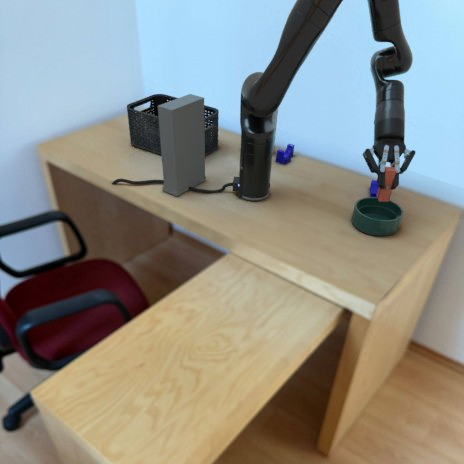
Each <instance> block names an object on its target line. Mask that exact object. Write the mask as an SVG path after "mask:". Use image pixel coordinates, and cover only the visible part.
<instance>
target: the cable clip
mask: <svg viewBox="0 0 464 464" xmlns="http://www.w3.org/2000/svg"><path fill="white" fill-rule="evenodd" d="M377 183H378V177H377V179H371V182H370V186H369V197H377V196H376V195H377V192H378V188H379V187H378V185H377ZM392 191H393V190H391V193H390V197H389V199H390V198H391V194H392Z"/></svg>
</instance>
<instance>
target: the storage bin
mask: <svg viewBox="0 0 464 464" xmlns="http://www.w3.org/2000/svg"><path fill="white" fill-rule="evenodd" d="M178 98H179V97H176V96H172V95H168V94H165V93H154V94H151V95H149V96H146V97H144V98H141V99H138V100H136V101H133V102H130V103H128V104H126V112H127V120H128V129H129V137H130V138H129V139H130V140H129V141H130V144H131V145H132V146H133V147H136V148H140V149H143V150H145V151H148V152H151V153H155V154H157V155H160V156H162V155H161V142H160V130H159V118H158V106H159V105H161V104H164V103H167V102H169V101H172V100H175V99H178ZM148 103H149V104H150V105H149V107H146V108H144V109H142V110H137V109H135V108H137V107H140V106H143V105H146V104H148ZM219 113H220V111H219V109H218V108H216V107H212V106H209V105H207V104H206V105H205V104H204V125H205V157H206V156H208V155H209V154H211V153H212V152H214V151H216V150H218V149H219V119H220V118H219Z"/></svg>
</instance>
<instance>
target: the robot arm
mask: <svg viewBox="0 0 464 464" xmlns="http://www.w3.org/2000/svg"><path fill="white" fill-rule="evenodd" d="M343 2H344V0H296V1H295V2H294V4H293V6H292V8H291V10H290V12H289V13H288V16H287V18H286V20H285V23H284V25H283V29H282V31H281V36H280V38H279V42H278V45H277V48H276V50H275V52H274V54H273V57H272V58H271V60H270V62H269V63H268V64H267V66H266V68H265V70H264V71H263V72H262V71H256V72H253V73H251V74H249V75H248V76H247V77H246V78H245V80H244V81H243V82H242V86H241V89H240V107H239V109H240V110H239V124H240V131H241V132H240V154H239V155H240V156H239V157H240V158H239V169H238V170H239V174H238V176H233V179H232V182H227V183H225V184H223V185H222V187H221V188H219V189H214V190H213V189H204V188H197V187H189V190H188V191H193V192H196V193H202V194H219V193H222V192H224V191H225V190H226V188H228V187H232V192H236V193H237V194H238V199H243V200H246V201H250V202H259V201H264V200H266V199H267V198H268V197H270V196H269V195H270V189H271V173H272V164H273V163H272V162H273V154H274V152H273V143H274V132H275V130H274V125H273V113H274V112H275V111H276V110H277V109H278V110H279V108H280V105H282V102H283V100H284V98H285V96H286V94H287V92H288V90H289V89H290V87H291V85H292V82H293V81H294V79H295V78H296V75H297V73H298V72H299V70H300V69H301V67H302V66H303V64H304V63H305V61H306V60H307V58H308V56H309V55H310V54H311V52H312V50H313V49H314V47H315V46H316V44H317V43H318V41H319V40H320V38H321V37H322V36H323V34H324V33H325V31H326V30H327V28H328V26H329V24H330V23H331V21H332V20H333V18H334V17H335V15H336V13H337V12H338V10H339V8H340V7H341V5H342V4H343ZM366 3H367V10H368V18H369V25H370V30H371V31H370V32H371V36H372V39H373V41H374V42H377V43H390V44H392V46H387V47H385V48H381V49H378V50H375V51H374V52H373V53H372V54H371V56H370V58H369V63H368V64H369V65H368V66H369V70H370V73H371V76H372V79H373V84H374V88H375V111H374V120H373V126H374V127H373V145H372V147H371V148H365V150H364V151H363V153H362V157H363V159H364V161H365V163H366V165H367V167H368V169H369V171H370V173H371V174H376V175H377V178H378V183H377V185H378V187H380V189H383V188H385V173H384V171H385V167H387V166H386V165H387V163H389V167H394V168H395V169H396V174H395V177H394V181H393V184H392V187H391V190H392V191H393V190H396V189H397V187H399V185H400V175H402V174H404V172H406V171H407V170H408V168H409V166H410V165H411V162H412V160H413V159H414V157H415V155H416V150H414V149H412V150H410V149H408V148H407V145H406V144H405V133H406V132H405V131H406V129H405V128H406V125H405V124H406V110H405V85H404V83H403V81H401V80H398V79H388V78H392V77H396V76H401V75H404V74H406V73H408V72H409V71H410V69H411V68H412V65H413V59H414V58H413V52H412V50H411V47H410V44H409V43H408V41H407V38H406V35H405V33H404V29H403V25H402V19H401V9H400V0H366ZM374 155H375V157H376V158H377V161H378V162H376V159H375V157H374ZM402 155H403V158H404V160H403V162H402V164H401V157H402ZM400 164H401V165H400ZM118 183H125V184H129V185H137V186H138V185H149V184H164V179H147V180H130V179H127V178H117V179H115V180H113V181H112V182H111V185H113V186H115V185H116V184H118Z"/></svg>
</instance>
